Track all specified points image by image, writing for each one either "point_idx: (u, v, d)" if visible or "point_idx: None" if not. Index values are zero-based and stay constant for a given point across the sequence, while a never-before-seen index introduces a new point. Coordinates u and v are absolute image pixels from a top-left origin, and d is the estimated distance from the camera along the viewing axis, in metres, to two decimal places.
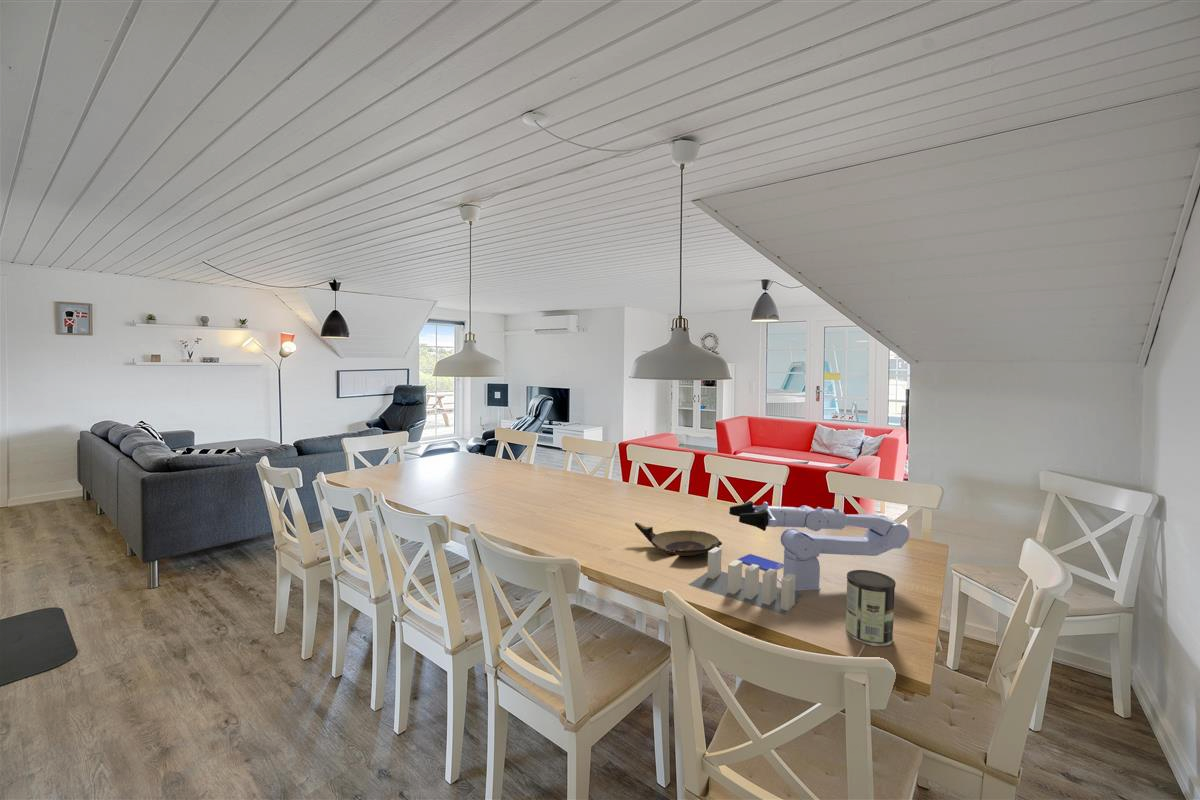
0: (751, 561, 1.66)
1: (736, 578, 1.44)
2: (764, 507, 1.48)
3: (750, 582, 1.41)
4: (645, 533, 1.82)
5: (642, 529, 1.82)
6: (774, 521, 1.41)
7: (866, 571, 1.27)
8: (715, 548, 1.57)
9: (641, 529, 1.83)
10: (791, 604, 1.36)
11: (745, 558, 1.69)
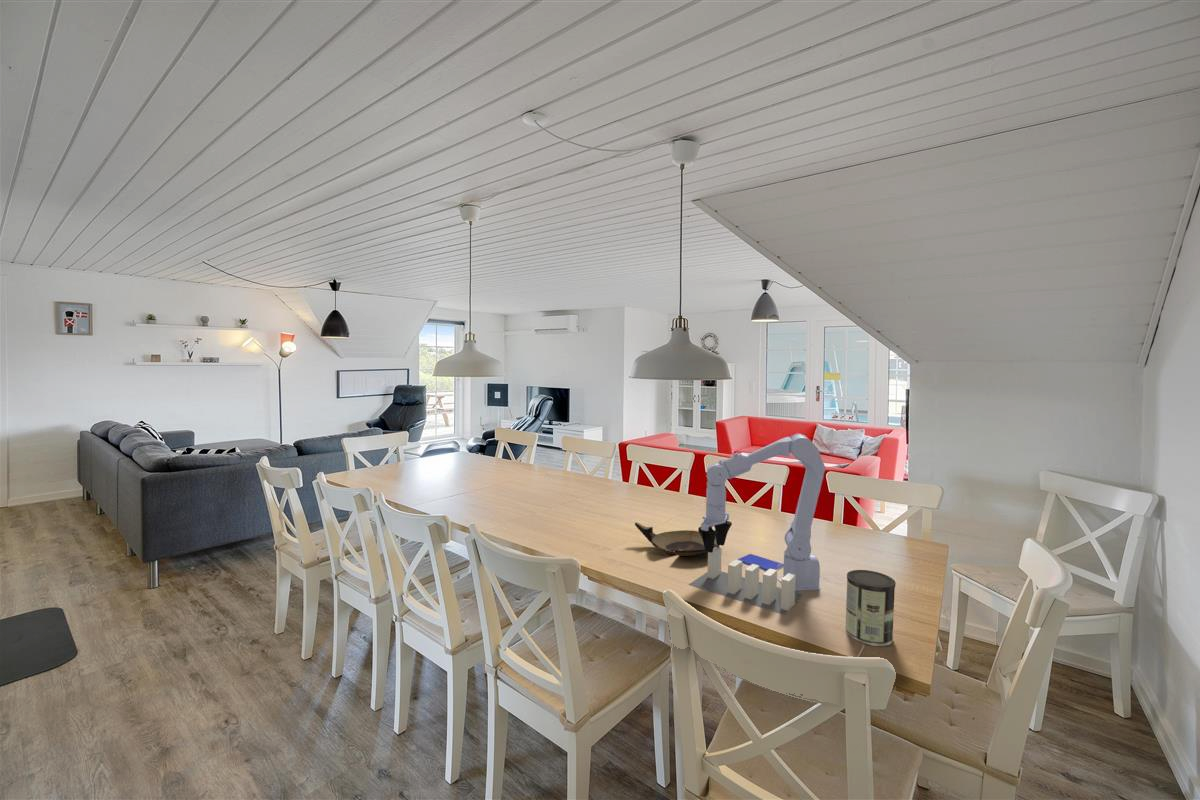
0: (752, 561, 1.66)
1: (736, 578, 1.44)
2: None
3: (750, 582, 1.41)
4: (645, 533, 1.82)
5: (642, 529, 1.82)
6: (702, 525, 1.50)
7: (866, 571, 1.27)
8: (715, 548, 1.57)
9: (641, 529, 1.83)
10: (791, 604, 1.36)
11: (745, 558, 1.69)
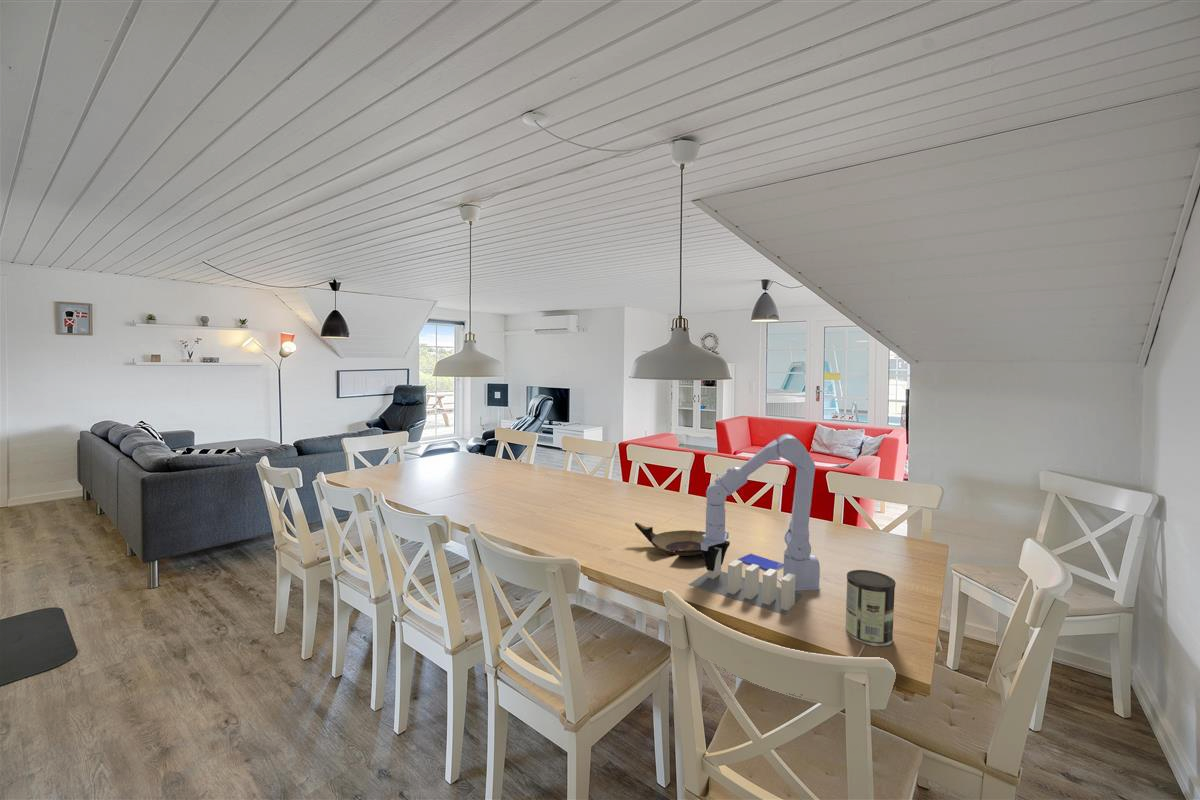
0: (752, 561, 1.66)
1: (736, 578, 1.44)
2: None
3: (750, 582, 1.41)
4: (645, 533, 1.82)
5: (642, 529, 1.82)
6: (701, 545, 1.50)
7: (866, 571, 1.27)
8: (715, 548, 1.57)
9: (641, 529, 1.83)
10: (791, 604, 1.36)
11: (745, 558, 1.69)
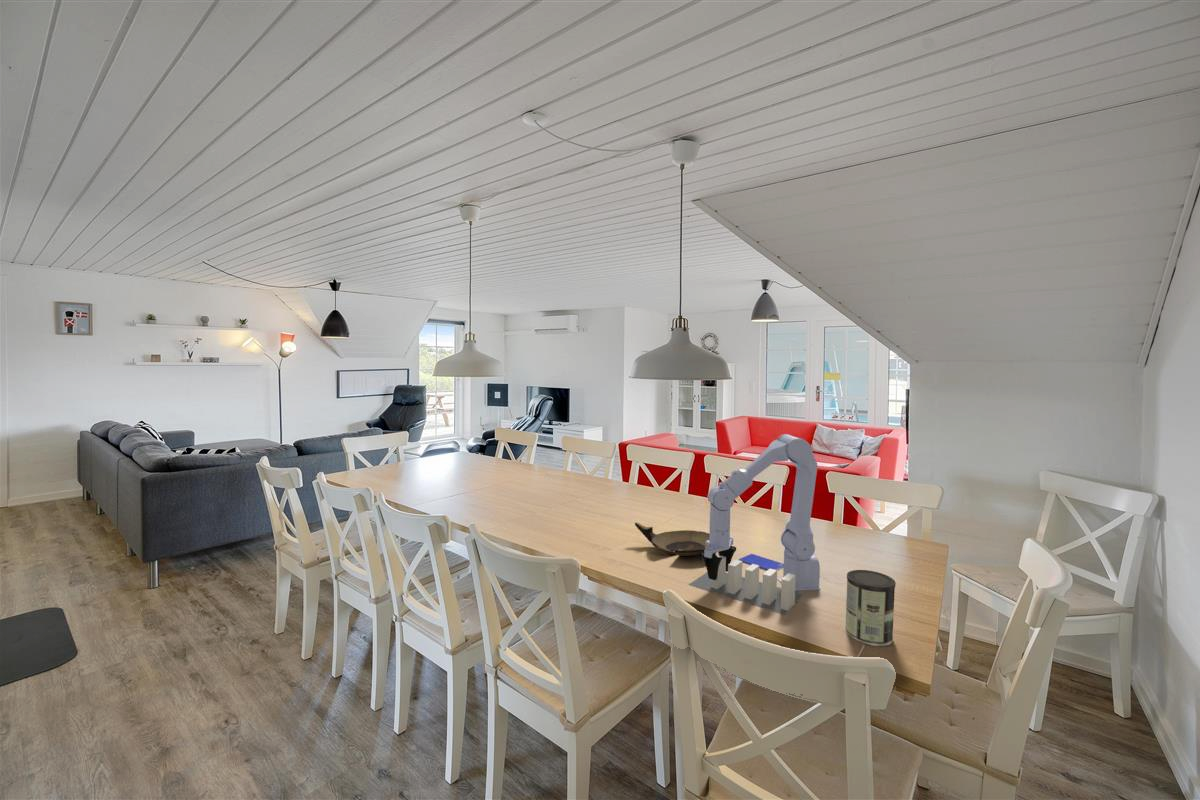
0: (753, 561, 1.66)
1: (736, 578, 1.44)
2: None
3: (750, 582, 1.41)
4: (645, 533, 1.82)
5: (642, 529, 1.82)
6: (705, 552, 1.43)
7: (866, 571, 1.27)
8: None
9: (641, 529, 1.83)
10: (791, 604, 1.36)
11: (746, 558, 1.69)
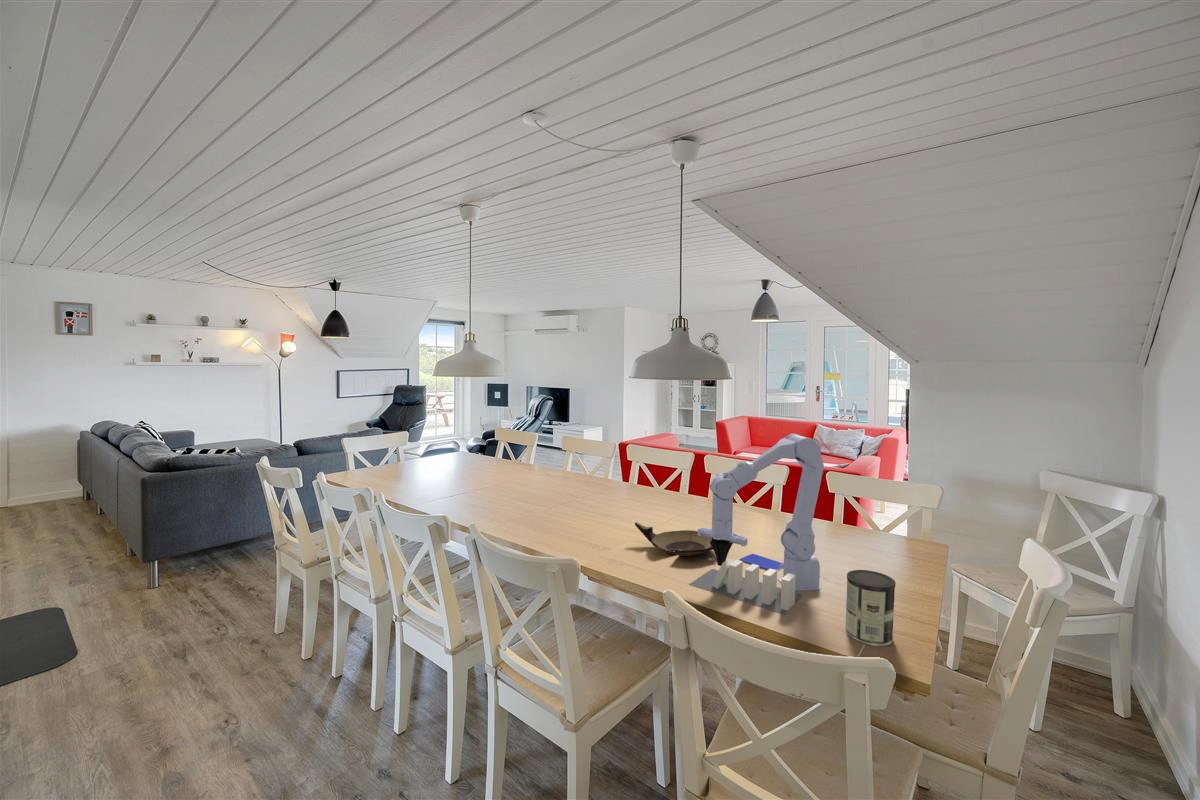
0: (753, 561, 1.66)
1: (736, 578, 1.44)
2: None
3: (750, 582, 1.41)
4: (645, 533, 1.82)
5: (642, 529, 1.82)
6: (745, 541, 1.43)
7: (866, 571, 1.27)
8: (730, 560, 1.48)
9: (641, 529, 1.83)
10: (791, 604, 1.36)
11: (747, 558, 1.69)
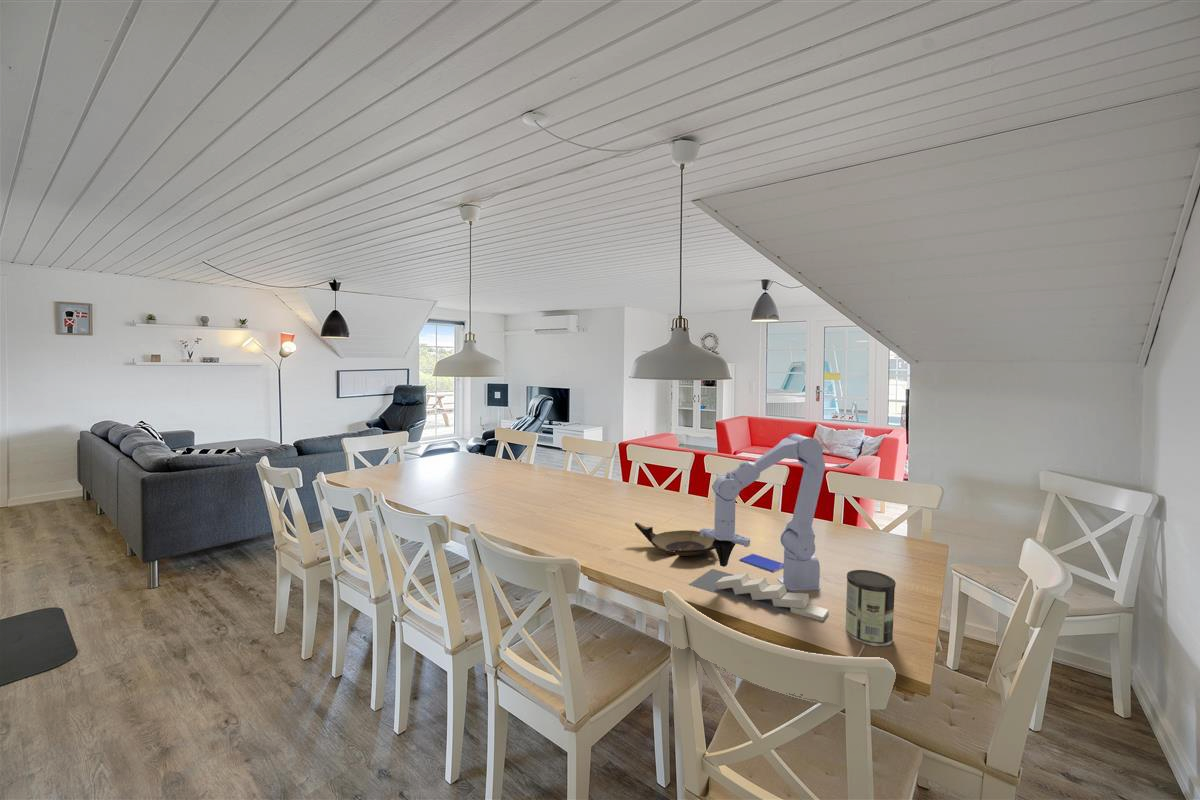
0: (754, 561, 1.66)
1: None
2: None
3: (768, 597, 1.38)
4: (645, 533, 1.82)
5: (642, 529, 1.82)
6: (747, 542, 1.42)
7: (866, 571, 1.27)
8: (746, 576, 1.45)
9: (641, 529, 1.83)
10: None
11: (747, 558, 1.69)
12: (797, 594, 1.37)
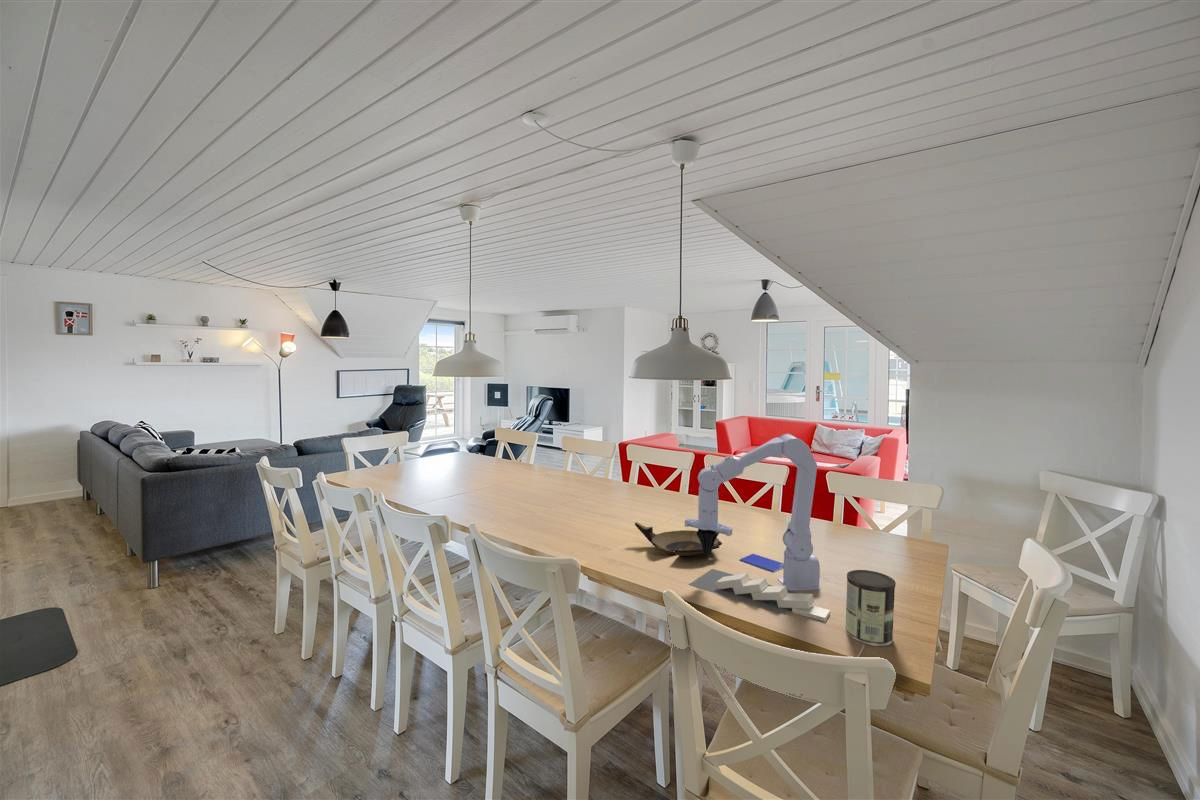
0: (754, 561, 1.66)
1: None
2: None
3: (769, 598, 1.37)
4: (645, 533, 1.82)
5: (642, 529, 1.82)
6: (730, 531, 1.47)
7: (866, 571, 1.27)
8: (746, 576, 1.45)
9: (641, 529, 1.83)
10: None
11: (748, 558, 1.69)
12: (801, 595, 1.36)
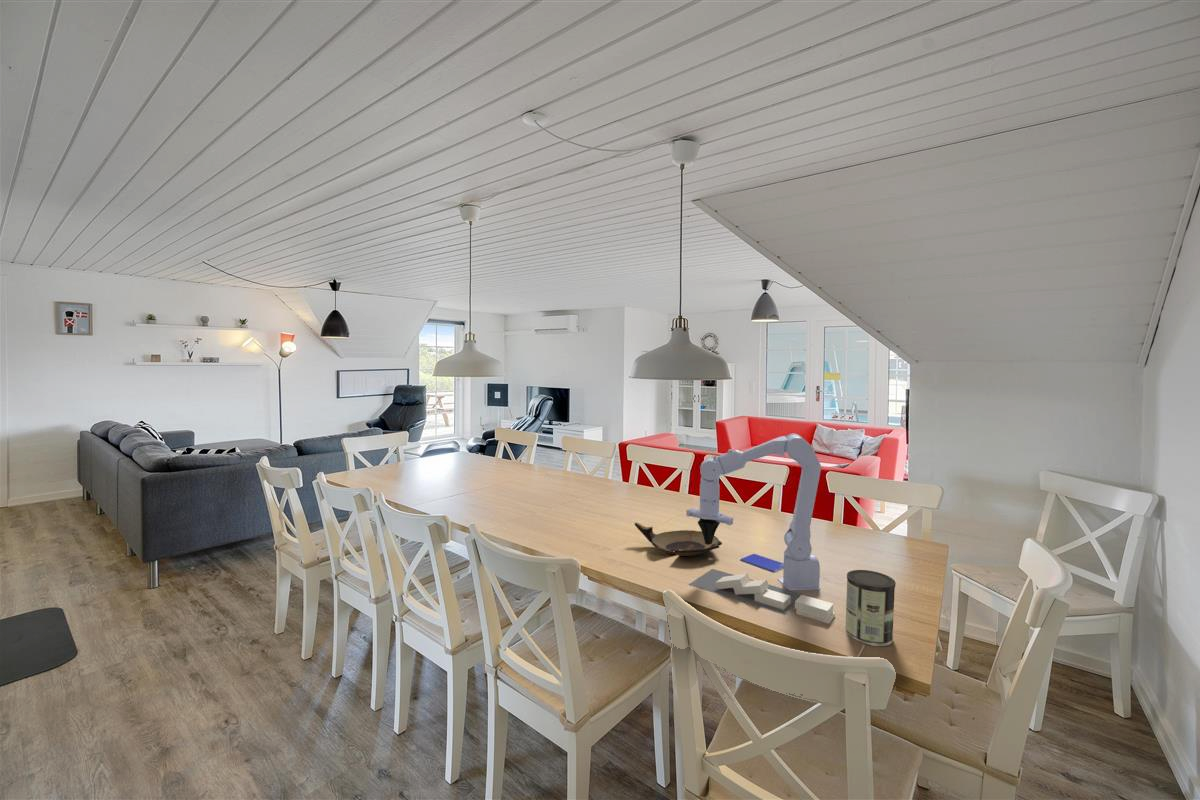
0: (755, 561, 1.66)
1: None
2: None
3: (771, 604, 1.37)
4: (645, 533, 1.82)
5: (642, 529, 1.82)
6: (730, 521, 1.50)
7: (866, 571, 1.27)
8: (746, 577, 1.45)
9: (640, 529, 1.83)
10: None
11: (748, 558, 1.69)
12: (822, 602, 1.32)
